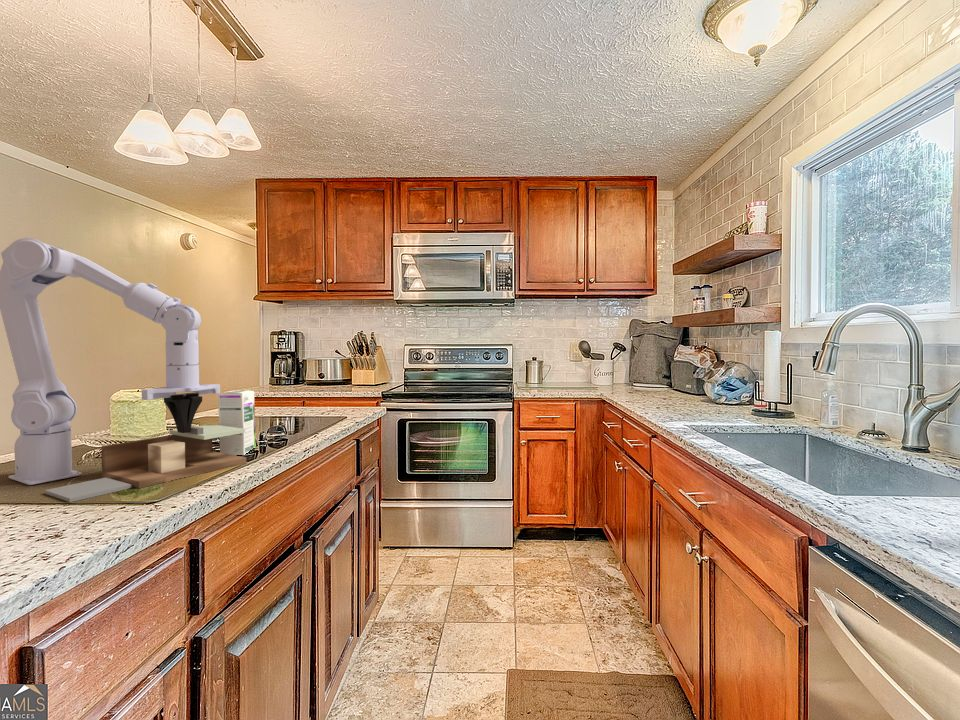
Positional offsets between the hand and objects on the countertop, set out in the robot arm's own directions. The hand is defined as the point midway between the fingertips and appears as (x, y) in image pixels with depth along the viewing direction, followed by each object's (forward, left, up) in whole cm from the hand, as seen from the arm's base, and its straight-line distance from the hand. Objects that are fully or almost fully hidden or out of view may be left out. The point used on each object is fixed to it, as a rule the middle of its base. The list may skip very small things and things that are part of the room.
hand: (183, 432), depth 99 cm
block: (0, -3, -8) cm, 8 cm away
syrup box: (-4, +15, -8) cm, 17 cm away
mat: (0, -16, -8) cm, 18 cm away
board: (0, -1, -8) cm, 8 cm away
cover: (-1, +5, -1) cm, 6 cm away
